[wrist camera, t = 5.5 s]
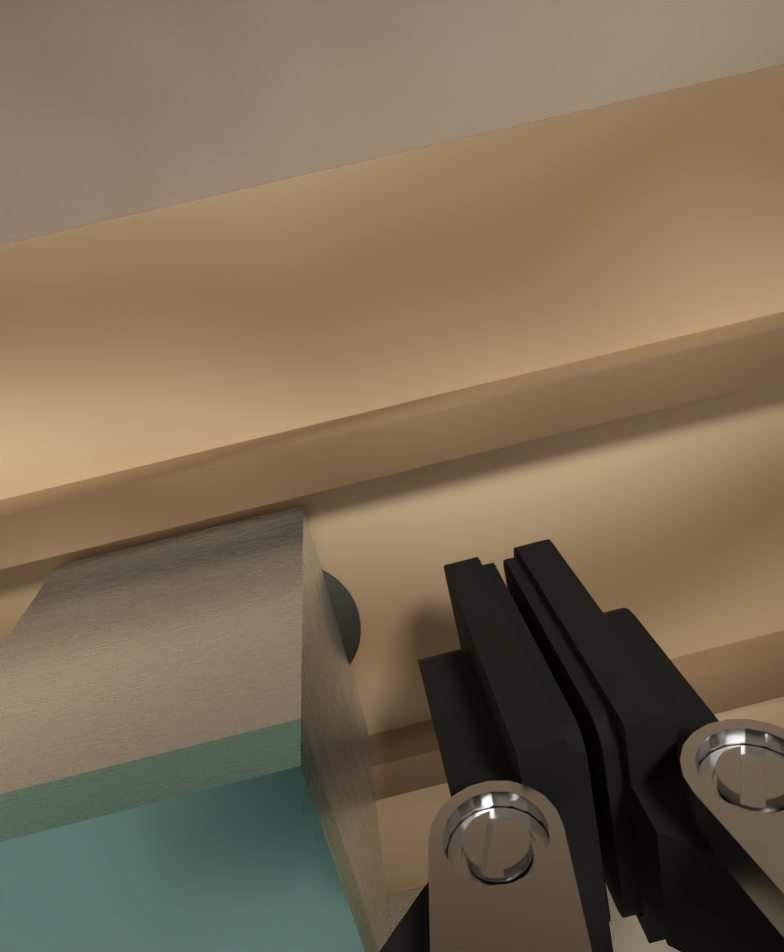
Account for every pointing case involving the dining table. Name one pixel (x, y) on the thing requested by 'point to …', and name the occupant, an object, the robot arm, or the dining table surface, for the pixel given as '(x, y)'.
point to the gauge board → (437, 393)
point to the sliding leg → (188, 755)
